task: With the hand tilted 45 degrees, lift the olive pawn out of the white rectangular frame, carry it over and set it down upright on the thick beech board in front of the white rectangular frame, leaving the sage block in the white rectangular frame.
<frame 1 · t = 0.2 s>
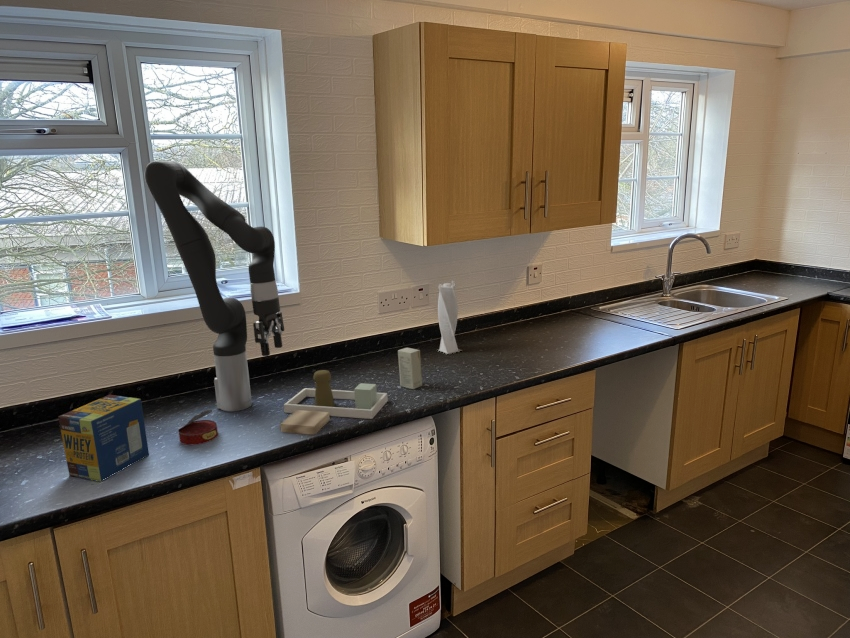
hand: (272, 351, 182), 18 cm above the worktop, tool pointing down, fingers open, 8 cm apart
protein box: (110, 466, 154), on the worktop
board: (305, 425, 173), on the worktop
canned food: (199, 438, 169), on the worktop
skyscraper: (449, 352, 237), on the worktop
olive pawn: (324, 406, 188), resting in white rectangular frame
sage block: (366, 408, 184), resting in white rectangular frame
skincare box: (410, 386, 202), on the worktop
white rectangular frame: (336, 406, 187), on the worktop
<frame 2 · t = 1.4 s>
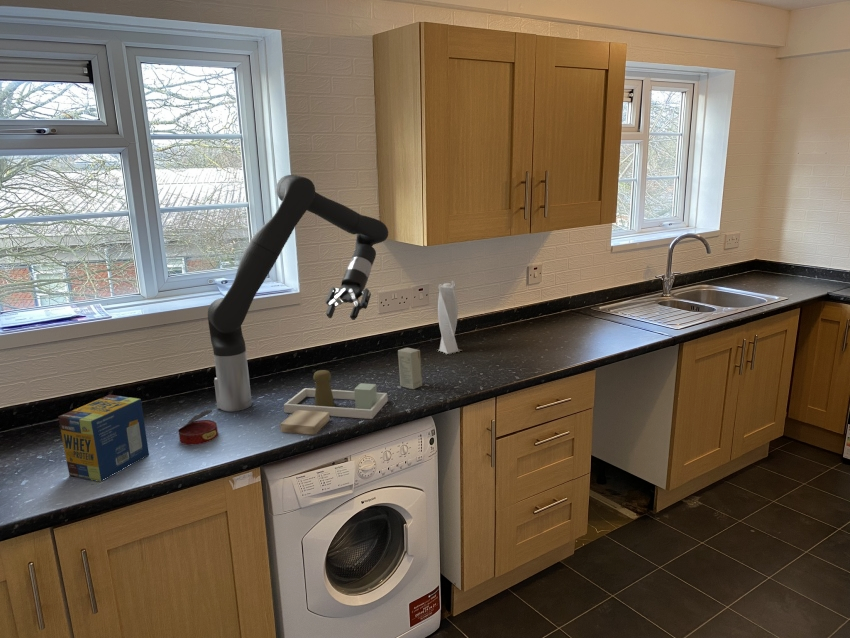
hand: (340, 317, 192), 25 cm above the worktop, tool tilted 45°, fingers open, 8 cm apart
nothing on the worktop moved.
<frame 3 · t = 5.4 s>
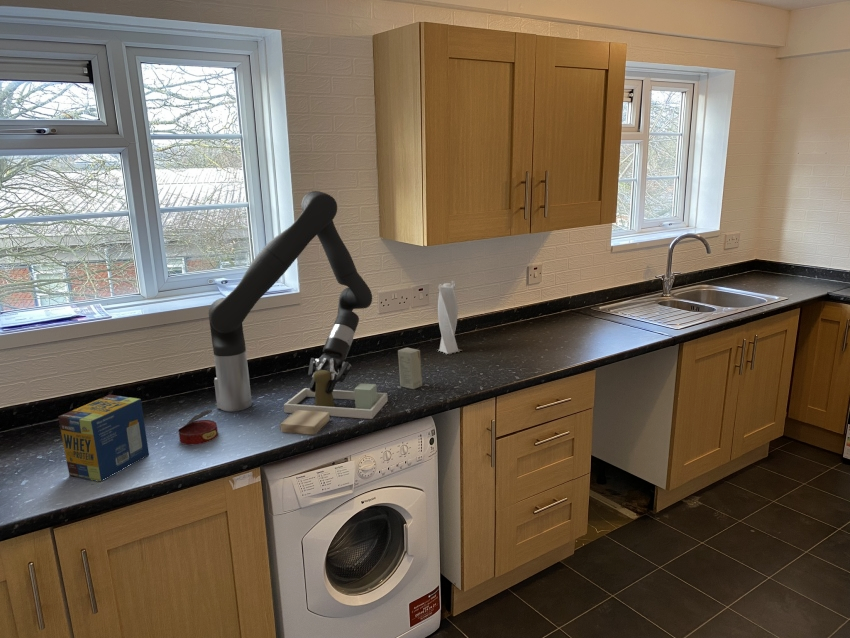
hand: (319, 391, 185), 5 cm above the worktop, tool tilted 45°, fingers closed on olive pawn, 5 cm apart
olive pawn: (324, 406, 188), resting in white rectangular frame, touching gripper
everything else where it was.
when the fingers open (9 cm above the worktop, at t = 10.4 s): olive pawn drops 1 cm, resting on board.
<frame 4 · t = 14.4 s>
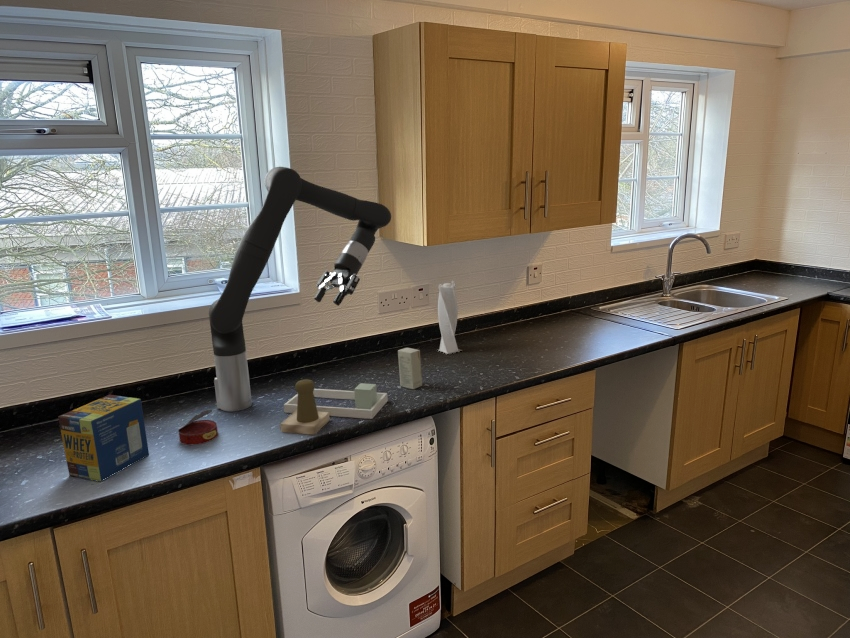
hand: (326, 302, 186), 31 cm above the worktop, tool tilted 45°, fingers open, 8 cm apart
olive pawn: (307, 419, 173), point 2 cm above the worktop, touching board
everything else where it was.
at the end: olive pawn 0.9 cm from the board (horizontally); olive pawn tilted 0°; the gripper is holding nothing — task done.
